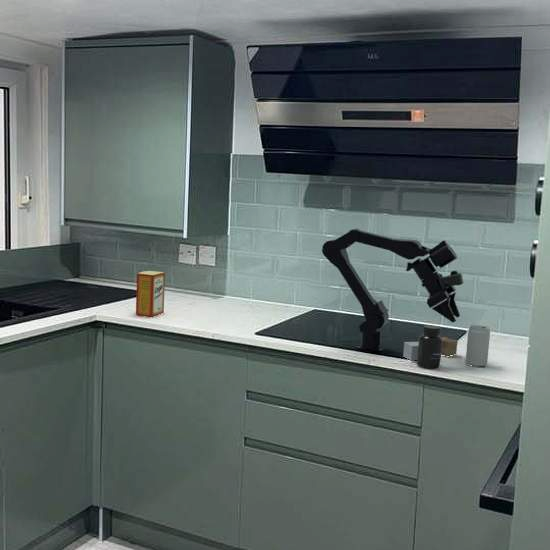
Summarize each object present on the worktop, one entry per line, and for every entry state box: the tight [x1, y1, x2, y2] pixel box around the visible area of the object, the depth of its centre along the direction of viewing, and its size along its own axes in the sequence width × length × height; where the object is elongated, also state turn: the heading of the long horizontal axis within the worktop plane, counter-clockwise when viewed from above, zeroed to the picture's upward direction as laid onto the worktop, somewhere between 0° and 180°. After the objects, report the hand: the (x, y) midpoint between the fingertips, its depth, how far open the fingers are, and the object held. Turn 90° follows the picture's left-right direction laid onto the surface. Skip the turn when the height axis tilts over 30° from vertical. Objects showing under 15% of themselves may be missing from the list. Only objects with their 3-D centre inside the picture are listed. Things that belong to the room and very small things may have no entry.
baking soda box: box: [135, 270, 166, 318], centre depth 267 cm, size 10×6×16 cm
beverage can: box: [465, 324, 491, 367], centre depth 218 cm, size 6×6×12 cm
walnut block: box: [441, 336, 458, 356], centre depth 230 cm, size 5×5×5 cm
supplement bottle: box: [416, 325, 443, 370], centre depth 214 cm, size 7×7×12 cm
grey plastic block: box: [402, 341, 419, 362], centre depth 222 cm, size 5×5×5 cm
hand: (456, 319), depth 220 cm, fingers open, 9 cm apart
